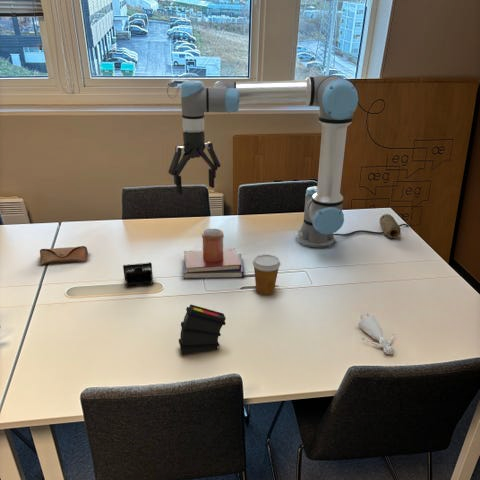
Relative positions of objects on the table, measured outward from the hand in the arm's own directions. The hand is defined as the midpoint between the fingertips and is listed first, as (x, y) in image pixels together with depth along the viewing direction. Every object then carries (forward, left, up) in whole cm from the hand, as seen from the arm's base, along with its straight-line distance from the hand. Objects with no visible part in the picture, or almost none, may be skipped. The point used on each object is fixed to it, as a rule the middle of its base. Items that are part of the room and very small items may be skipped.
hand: (195, 190), depth 186 cm
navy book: (-6, +12, -27) cm, 30 cm away
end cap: (+21, +21, -27) cm, 40 cm away
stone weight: (-84, -20, -27) cm, 90 cm away
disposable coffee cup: (-24, +29, -27) cm, 46 cm away
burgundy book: (-6, +12, -24) cm, 28 cm away
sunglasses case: (+52, +2, -27) cm, 59 cm away
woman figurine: (-55, +60, -27) cm, 86 cm away
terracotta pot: (-6, +12, -22) cm, 26 cm away
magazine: (-2, +63, -27) cm, 69 cm away
